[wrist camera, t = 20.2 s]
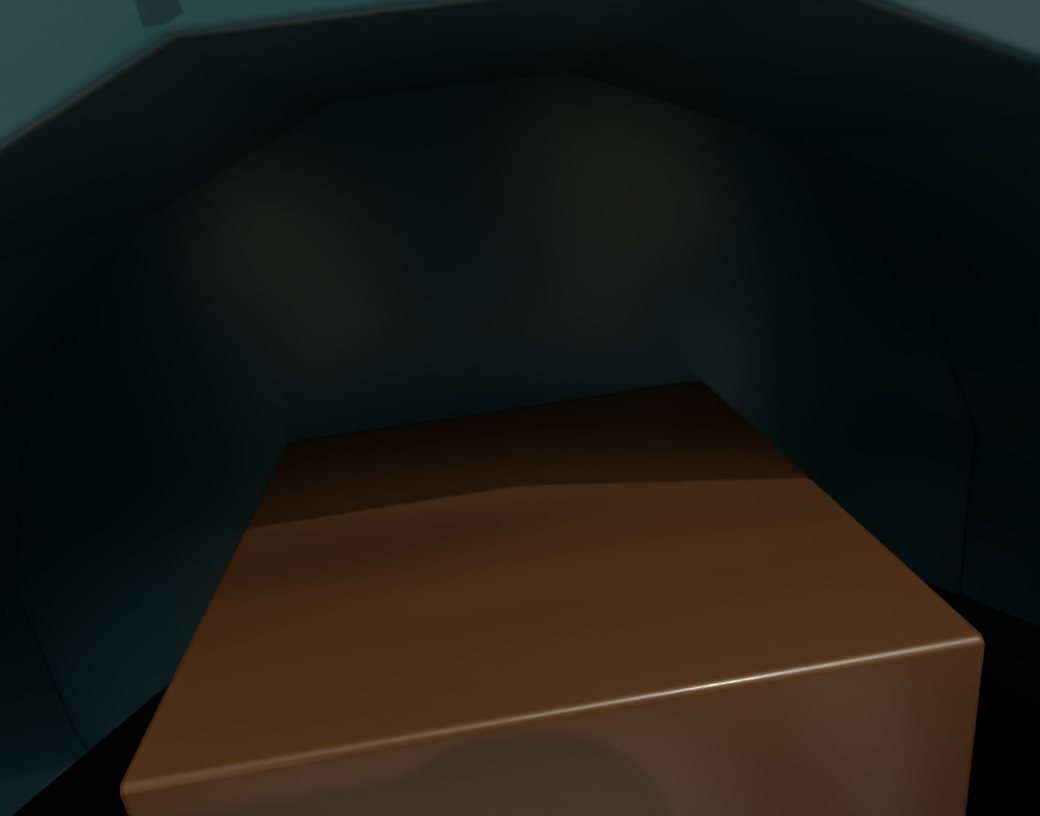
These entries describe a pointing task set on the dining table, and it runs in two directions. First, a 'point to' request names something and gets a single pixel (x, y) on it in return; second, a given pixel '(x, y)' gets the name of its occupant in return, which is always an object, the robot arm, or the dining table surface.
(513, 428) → the block
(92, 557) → the pan
